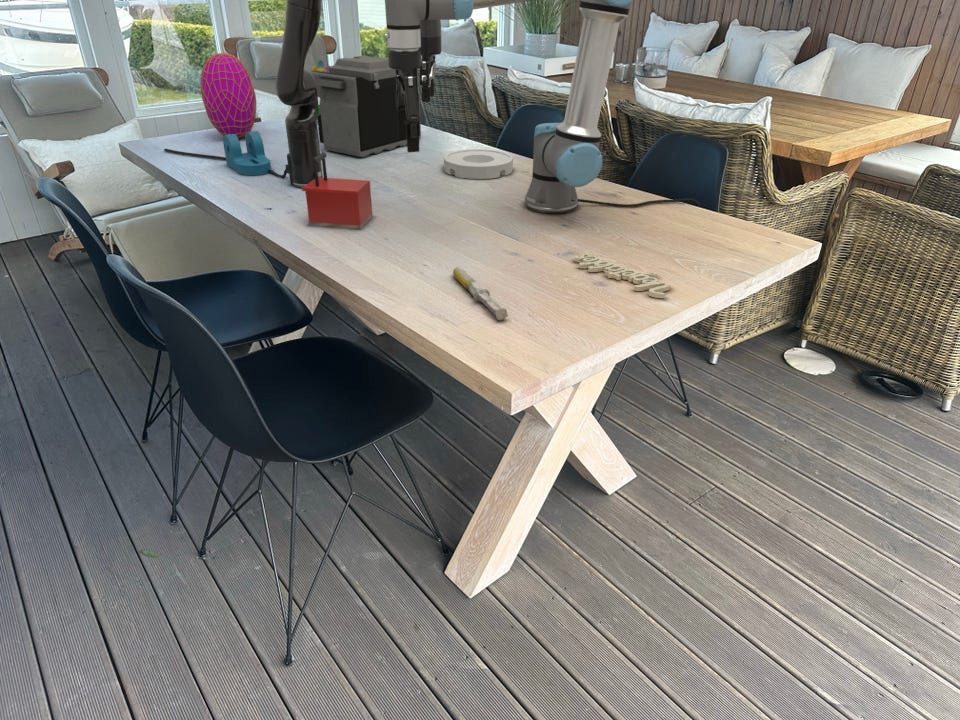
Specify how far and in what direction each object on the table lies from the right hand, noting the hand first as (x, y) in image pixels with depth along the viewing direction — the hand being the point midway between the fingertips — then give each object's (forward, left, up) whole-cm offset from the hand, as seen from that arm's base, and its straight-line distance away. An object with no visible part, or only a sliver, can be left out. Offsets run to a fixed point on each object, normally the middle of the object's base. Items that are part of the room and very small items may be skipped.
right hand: (408, 145), depth 167 cm
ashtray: (-32, -55, -22) cm, 68 cm away
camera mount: (+42, -73, -22) cm, 87 cm away
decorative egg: (+49, -120, -22) cm, 132 cm away
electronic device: (-1, -96, -22) cm, 99 cm away
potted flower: (+13, -142, -22) cm, 145 cm away
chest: (+17, -13, -22) cm, 31 cm away
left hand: (-10, -27, +6) cm, 30 cm away
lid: (+17, -13, -13) cm, 26 cm away
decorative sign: (-42, +38, -22) cm, 61 cm away
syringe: (-7, +42, -22) cm, 48 cm away
